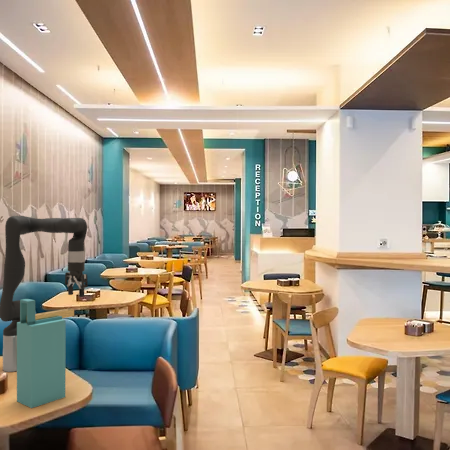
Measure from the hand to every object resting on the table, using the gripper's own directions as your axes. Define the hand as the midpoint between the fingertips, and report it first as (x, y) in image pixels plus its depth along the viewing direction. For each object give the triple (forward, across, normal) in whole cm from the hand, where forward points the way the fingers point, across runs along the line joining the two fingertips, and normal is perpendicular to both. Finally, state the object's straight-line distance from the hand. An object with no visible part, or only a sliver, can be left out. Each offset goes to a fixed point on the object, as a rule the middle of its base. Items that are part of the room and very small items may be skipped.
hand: (76, 295), depth 220 cm
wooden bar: (+6, +12, -20) cm, 24 cm away
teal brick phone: (+38, +12, -24) cm, 47 cm away
